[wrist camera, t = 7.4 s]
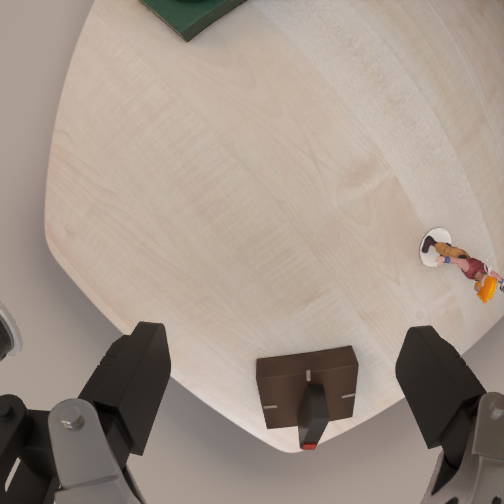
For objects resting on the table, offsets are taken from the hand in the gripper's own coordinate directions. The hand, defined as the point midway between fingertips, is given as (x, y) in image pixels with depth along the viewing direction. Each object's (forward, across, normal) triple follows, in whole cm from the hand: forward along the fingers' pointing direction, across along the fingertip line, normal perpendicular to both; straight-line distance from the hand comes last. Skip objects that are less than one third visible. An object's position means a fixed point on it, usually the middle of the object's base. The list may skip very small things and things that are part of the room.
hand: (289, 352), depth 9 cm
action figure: (+16, -17, +2) cm, 24 cm away
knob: (+13, -5, +18) cm, 23 cm away
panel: (+16, -5, +18) cm, 25 cm away
